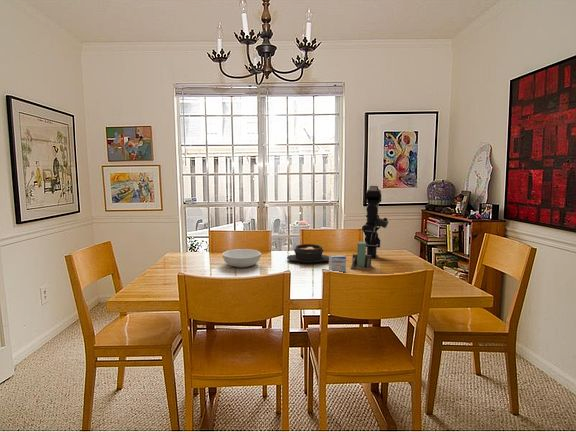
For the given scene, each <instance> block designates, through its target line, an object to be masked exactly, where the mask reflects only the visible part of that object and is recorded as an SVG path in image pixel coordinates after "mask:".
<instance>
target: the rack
mask: <svg viewBox="0 0 576 432" xmlns="http://www.w3.org/2000/svg"><path fill="white" fill-rule="evenodd" d="M351 261H352V262H351V266H350V270H356V269H359V271H371V268H372V258H371V255H367V254H366V258H365V267H358V266H357V254H356V253H352V260H351Z"/></svg>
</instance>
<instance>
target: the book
mask: <svg viewBox="0 0 576 432" xmlns="http://www.w3.org/2000/svg"><path fill="white" fill-rule="evenodd" d="M356 249H357V251H356V253H357V266H358V267H365V258H366V255H367V247H366V242H365V241H358V242H357V248H356Z"/></svg>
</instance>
